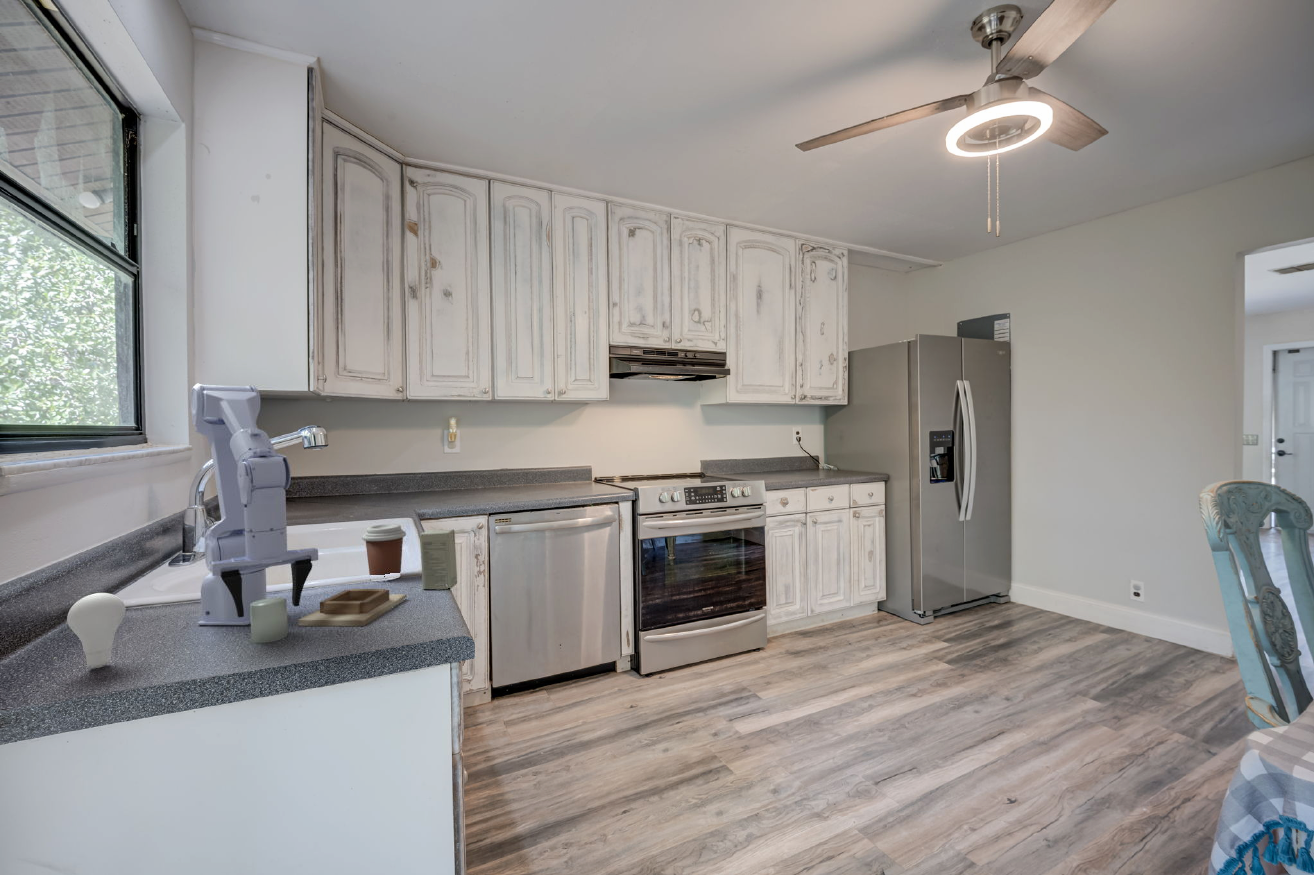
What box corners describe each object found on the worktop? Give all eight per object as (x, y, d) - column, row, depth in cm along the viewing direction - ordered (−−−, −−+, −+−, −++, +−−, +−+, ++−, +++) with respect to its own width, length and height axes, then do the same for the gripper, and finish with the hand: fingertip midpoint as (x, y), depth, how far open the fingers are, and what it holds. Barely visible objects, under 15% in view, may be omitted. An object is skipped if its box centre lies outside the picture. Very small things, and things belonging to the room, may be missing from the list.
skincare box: (457, 583, 125) (456, 528, 124) (451, 589, 120) (449, 532, 120) (428, 584, 125) (426, 529, 124) (420, 590, 120) (419, 533, 120)
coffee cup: (405, 581, 128) (404, 528, 127) (360, 585, 125) (358, 531, 124) (408, 571, 136) (406, 521, 136) (366, 575, 133) (364, 524, 133)
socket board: (298, 625, 100) (297, 608, 100) (349, 599, 115) (348, 584, 115) (363, 625, 99) (363, 609, 99) (406, 599, 114) (406, 584, 114)
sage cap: (243, 643, 92) (242, 606, 92) (266, 632, 97) (265, 597, 97) (273, 643, 92) (271, 606, 92) (294, 632, 97) (293, 597, 97)
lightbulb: (57, 675, 81) (54, 599, 81) (105, 657, 87) (102, 586, 87) (92, 677, 80) (89, 600, 80) (138, 659, 86) (135, 588, 86)
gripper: (212, 538, 86) (215, 627, 87) (321, 526, 96) (323, 605, 96) (209, 532, 91) (212, 616, 92) (312, 521, 101) (314, 596, 101)
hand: (268, 610), depth 94 cm, fingers open, 7 cm apart
